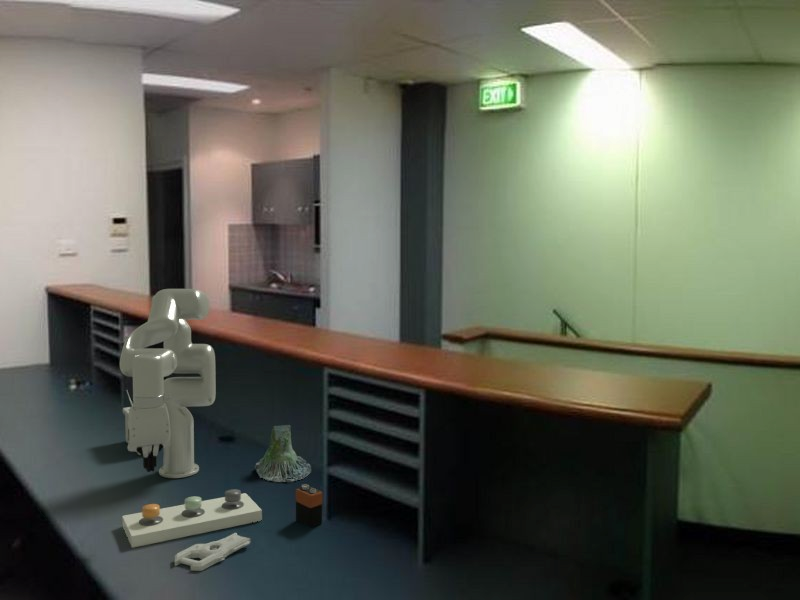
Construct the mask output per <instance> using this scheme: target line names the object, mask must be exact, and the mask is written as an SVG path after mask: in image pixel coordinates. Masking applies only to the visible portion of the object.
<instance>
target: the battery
mask: <svg viewBox="0 0 800 600" xmlns="http://www.w3.org/2000/svg"><path fill="white" fill-rule="evenodd" d="M295 520H296V522H299V523H301V524H303V525H304V526H306V527H308V528H312V527H315V526H318V525H320V524H322V523H323V492H322V491H321V490H318V489H316V488H314V487H312V486H310V485H309V484H307V483H304V484H301V487H298V488H296V489H295Z"/></svg>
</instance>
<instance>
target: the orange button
mask: <svg viewBox="0 0 800 600" xmlns="http://www.w3.org/2000/svg"><path fill="white" fill-rule="evenodd" d="M160 507H161V506H160V505H159V504H158V503H150V504H146V505H143V506H142V507H141V512H142V517H144V518H153V517H157V516H158V515H159V514H160V509H161V508H160Z"/></svg>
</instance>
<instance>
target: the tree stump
mask: <svg viewBox="0 0 800 600" xmlns="http://www.w3.org/2000/svg"><path fill="white" fill-rule="evenodd" d="M271 427H272V429H271V435H270V440H269V441H270V442H269V446H268V447H267V449H266V451H265V453H264V456H263V457H262V458H261V459H259V461H257V462H256V463H255V466H254V470H255V471H256V473H257V475H258V477H259V478H260V479H261V478H263V479H262V480H264V479H265V480H267V481H266V482H269V481H273V482H272V483H276V482H287V483H294V481H296V482H298V481H297V480H300V481H302V480H301V479H303V480H304V478H305V477H307V476H308V475H309V474H310V473H312V465H311V464H310V463H309V462H308V461H307V460H306V459H304V458H303V457H302V456H300V455H299V456H298V455H297V453H296V451H295V450H294V449H293V446H292V437H291V435H292V433H291V425H290V424H286V425H272V426H271ZM310 475H311V474H310ZM310 475H309V476H310ZM309 476H308V477H309ZM308 477H307V478H308ZM287 478H291V479H287ZM292 478H293V479H292ZM305 479H306V478H305ZM265 480H264V481H265Z"/></svg>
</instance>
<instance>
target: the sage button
mask: <svg viewBox="0 0 800 600" xmlns="http://www.w3.org/2000/svg"><path fill="white" fill-rule="evenodd" d="M201 501H202V497H200V496H197V495H196V496H189V497H185V499H184V504H185V509H187V510H195V509H199V508H200V507H201V506H202V504H201Z"/></svg>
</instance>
